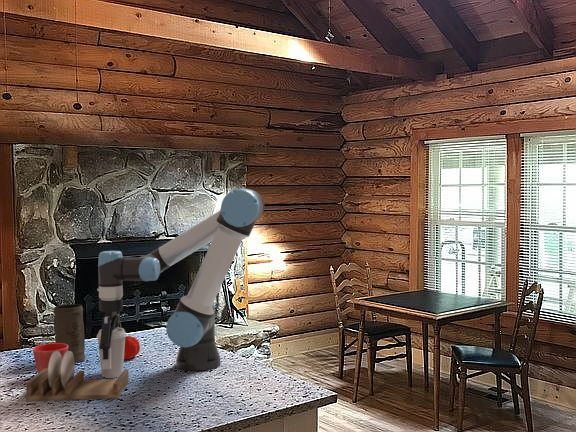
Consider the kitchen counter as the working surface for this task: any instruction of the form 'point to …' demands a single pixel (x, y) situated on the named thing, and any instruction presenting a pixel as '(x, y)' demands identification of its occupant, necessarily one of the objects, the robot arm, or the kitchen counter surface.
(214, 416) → the kitchen counter surface
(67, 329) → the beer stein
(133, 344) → the tomato
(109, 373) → the coffee cup
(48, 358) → the flower pot
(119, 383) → the dish rack
